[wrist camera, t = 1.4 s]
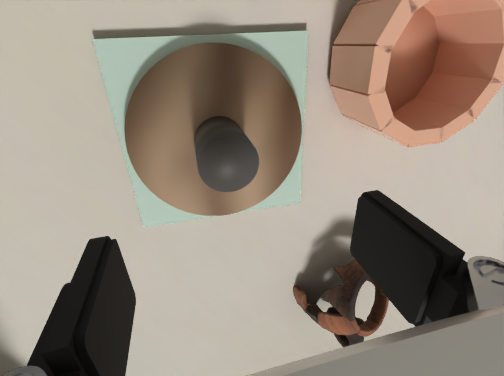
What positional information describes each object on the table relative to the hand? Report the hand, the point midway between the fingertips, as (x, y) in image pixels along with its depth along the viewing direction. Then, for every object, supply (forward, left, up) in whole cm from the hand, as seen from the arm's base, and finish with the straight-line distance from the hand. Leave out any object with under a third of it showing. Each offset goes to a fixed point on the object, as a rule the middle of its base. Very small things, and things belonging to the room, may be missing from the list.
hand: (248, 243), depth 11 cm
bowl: (-15, -5, -14) cm, 22 cm away
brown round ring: (-13, +21, -15) cm, 29 cm away
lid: (0, 0, -14) cm, 14 cm away
